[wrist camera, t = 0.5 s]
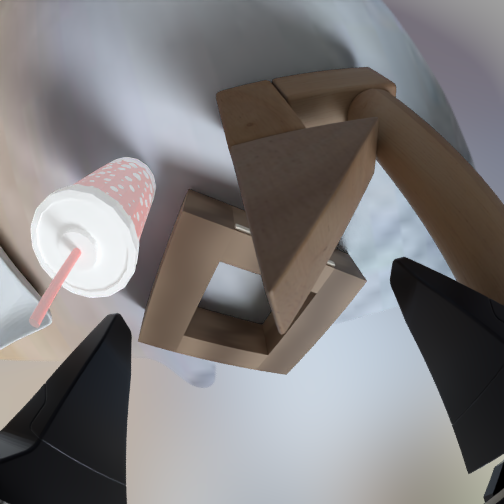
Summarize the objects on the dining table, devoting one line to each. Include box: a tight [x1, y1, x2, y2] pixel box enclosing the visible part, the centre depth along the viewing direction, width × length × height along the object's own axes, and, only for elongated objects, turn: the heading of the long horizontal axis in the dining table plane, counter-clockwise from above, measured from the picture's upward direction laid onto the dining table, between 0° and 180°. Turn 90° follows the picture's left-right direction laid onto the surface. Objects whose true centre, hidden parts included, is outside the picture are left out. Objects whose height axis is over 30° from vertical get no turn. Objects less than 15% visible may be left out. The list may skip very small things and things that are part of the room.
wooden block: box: [216, 67, 504, 335], centre depth 11 cm, size 4×11×18 cm, turn 104°
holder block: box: [138, 189, 367, 374], centre depth 24 cm, size 15×13×4 cm
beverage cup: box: [29, 157, 156, 328], centre depth 14 cm, size 6×6×14 cm
